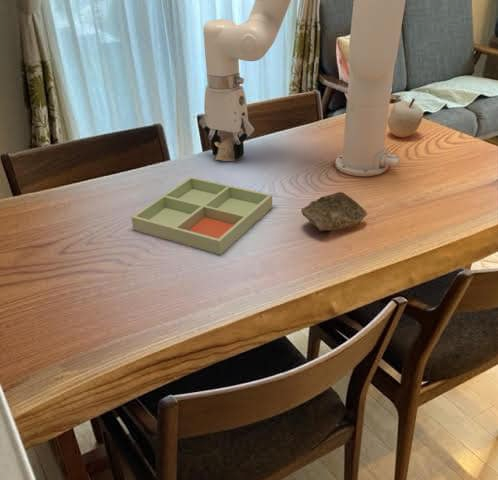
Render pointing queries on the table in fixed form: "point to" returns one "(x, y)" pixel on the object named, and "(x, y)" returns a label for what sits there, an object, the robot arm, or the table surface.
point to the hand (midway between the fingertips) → (227, 155)
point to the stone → (334, 212)
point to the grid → (203, 214)
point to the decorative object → (404, 118)
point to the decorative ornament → (226, 150)
